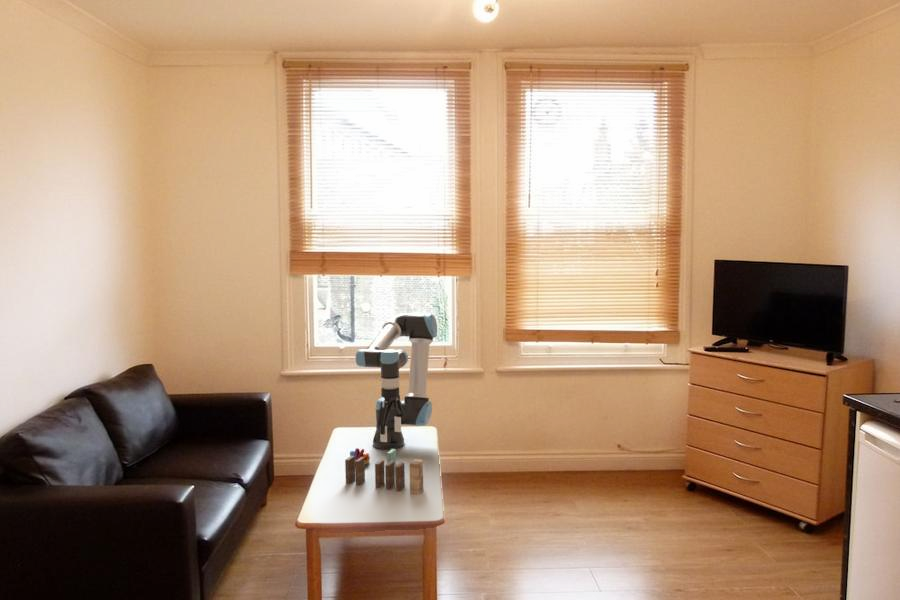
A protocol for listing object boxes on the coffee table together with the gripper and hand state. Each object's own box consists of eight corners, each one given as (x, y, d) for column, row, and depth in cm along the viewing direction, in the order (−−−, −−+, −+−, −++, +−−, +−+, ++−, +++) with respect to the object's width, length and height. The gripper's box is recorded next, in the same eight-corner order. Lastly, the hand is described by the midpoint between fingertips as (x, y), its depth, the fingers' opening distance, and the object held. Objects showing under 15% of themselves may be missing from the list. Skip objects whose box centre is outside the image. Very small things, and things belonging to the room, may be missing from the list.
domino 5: (395, 491, 242) (395, 466, 241) (401, 486, 246) (400, 462, 245) (399, 491, 241) (399, 467, 240) (404, 486, 246) (404, 462, 245)
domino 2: (355, 484, 248) (355, 461, 247) (361, 480, 253) (361, 456, 252) (359, 485, 247) (358, 461, 246) (364, 480, 252) (364, 457, 251)
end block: (415, 488, 244) (414, 459, 243) (423, 489, 243) (422, 460, 242) (410, 493, 240) (409, 463, 238) (418, 494, 238) (417, 464, 237)
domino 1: (345, 483, 250) (345, 459, 248) (351, 478, 254) (351, 455, 253) (349, 484, 249) (348, 460, 248) (355, 479, 254) (354, 456, 253)
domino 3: (375, 487, 245) (375, 463, 244) (381, 483, 250) (380, 459, 249) (379, 488, 244) (378, 464, 243) (384, 483, 249) (384, 460, 248)
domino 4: (385, 489, 243) (385, 465, 242) (391, 484, 248) (390, 460, 247) (389, 490, 243) (388, 465, 242) (394, 485, 247) (394, 461, 246)
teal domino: (387, 475, 257) (387, 452, 256) (392, 471, 262) (392, 448, 261) (390, 476, 257) (390, 453, 256) (396, 471, 261) (395, 449, 260)
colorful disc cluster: (366, 468, 266) (365, 452, 265) (345, 467, 267) (344, 451, 267) (372, 461, 274) (372, 446, 273) (351, 460, 276) (351, 444, 275)
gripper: (394, 379, 268) (395, 426, 271) (368, 393, 245) (369, 444, 247) (410, 381, 266) (411, 428, 268) (385, 395, 243) (385, 446, 245)
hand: (391, 436), depth 258 cm, fingers open, 13 cm apart
